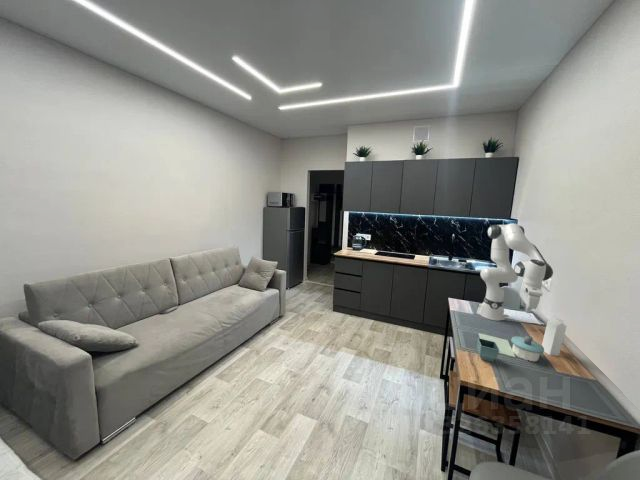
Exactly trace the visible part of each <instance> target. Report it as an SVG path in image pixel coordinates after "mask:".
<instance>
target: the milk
mask: <svg viewBox="0 0 640 480" xmlns="http://www.w3.org/2000/svg"><path fill="white" fill-rule="evenodd" d="M566 331H567V325H566V324H564V320H562V319H561V318H559V317H557V316H553V317H552V318H550V319H549V320H547V323H546V327H545V331H544V335H543V339H542V343H541V345H542V346H543V347H544V352H543V353H546V354H547V355H549V356H560V352H561V350H562V345H563V341H564V339H565V334H566Z"/></svg>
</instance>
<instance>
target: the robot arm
mask: <svg viewBox="0 0 640 480" xmlns="http://www.w3.org/2000/svg"><path fill="white" fill-rule="evenodd" d="M487 236H488V237H489V238H490V239H492V240H491V247H490V260H491V261H492V262H494V263H495V264H496V267H493V266H492V267H491V266H488V267H483V268H482V269H481V270H480V274H479V275H480V278H481V279H482V280H483V281H484V283H485V284H486V292H485V296H484V299H483V302H482V303H479V304H478V305H479V306H478V307H477V311H476V314H477V315H479V316H481V317H483V318H484V319H488V320H491V321H497V322H499V321H505V320H506V317H505V316H504V313H505V308H504V307H503V306H504V299H505V298H504V297H505V290H504V289H503V288H502V287H500V283H505V284H510V283H511V284H512V283H515V282H516V281H518V278H519V277H521V278H523V280H522V283H521V287H520V290H519V296H520V298H521V303H520V306H521V307H523V308H525V307H526V309H525V313H526V314H530V313H531V311H532V310H536V309H538V306H539V304H540V300H541V297H543V291H542V286H543V281H544V282H546V281H548V280H550V279H551V278H552V277H553V274H554V269H553V268H552V266H551V265H550V264H549V263H548V262H547V261H546V259H545V258H544V256H543V255H542V253H541V252H540V250H539V249H538V248H537V246H536V245H535V244H534V243H532V242H531V241H530V240H529V239H528V238H527V237H526V235H525V228H524V227H523V226H522V225H519V224H517V223H515V222H514V223H513V222H511V223H508V224H491V225H489V227H488V228H487ZM510 249H511V250H512V251H516V252H519V253H522V254H524V255H526V256H528V257H529V258H530V259H529V260H528V261H518V262H516V263H515V265H514V268H513V266H512V265H511V262H510Z"/></svg>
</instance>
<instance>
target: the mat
mask: <svg viewBox="0 0 640 480" xmlns="http://www.w3.org/2000/svg"><path fill="white" fill-rule="evenodd" d="M478 338H480V339H484V340H489V341H493V342H495V343H496V344H497V346H498V348H499V353H498V355H499V354H500V355H503V356H507V357H509V358H510V357H511V358H514V359H516V358H517V357H516V355H515V354H514V352H513V350H512V346H511V345H510V342H509V340H508V339H504V338H499V337H496V336H492V335H488V334H485V333H480V332H478Z"/></svg>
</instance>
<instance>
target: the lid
mask: <svg viewBox="0 0 640 480" xmlns="http://www.w3.org/2000/svg"><path fill="white" fill-rule="evenodd" d="M510 342H511V344H512V345H513V344H514V345H515V346H517V347H519V348H521V349H523V350H526V351H529V352H532V353H540V354H543V353H545V352H544V347H543V346H542V344H540V343H538V342H537V341H535V340H534V339H533V337H531V336H529V335H525V336H524V337H523V336H518V335H517V336H512V337H511V340H510Z"/></svg>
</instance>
